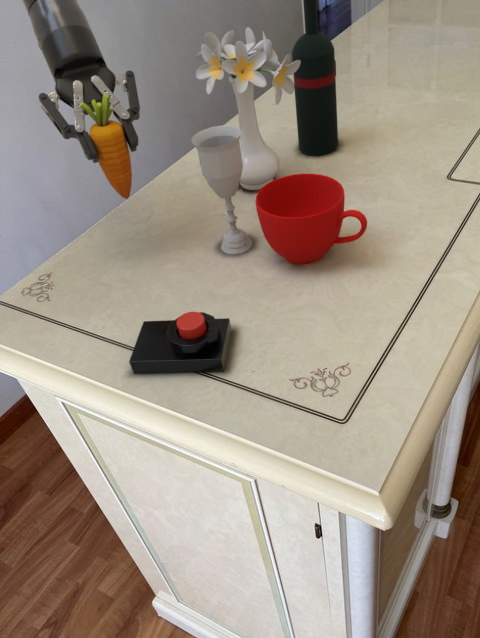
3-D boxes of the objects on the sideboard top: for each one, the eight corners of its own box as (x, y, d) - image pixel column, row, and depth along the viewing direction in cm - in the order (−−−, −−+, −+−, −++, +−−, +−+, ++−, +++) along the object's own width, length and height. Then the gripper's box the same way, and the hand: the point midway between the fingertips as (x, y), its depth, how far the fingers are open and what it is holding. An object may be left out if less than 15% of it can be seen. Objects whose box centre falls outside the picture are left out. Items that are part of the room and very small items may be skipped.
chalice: (241, 228, 99) (222, 121, 86) (267, 242, 95) (251, 132, 82) (206, 247, 96) (181, 139, 83) (231, 263, 92) (210, 152, 79)
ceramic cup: (348, 291, 84) (346, 230, 77) (248, 267, 91) (238, 208, 84) (383, 244, 91) (384, 184, 84) (288, 224, 98) (282, 167, 91)
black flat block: (133, 373, 76) (124, 351, 74) (147, 333, 82) (139, 310, 79) (224, 371, 75) (218, 348, 72) (232, 330, 80) (227, 307, 78)
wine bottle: (350, 137, 119) (346, -40, 98) (326, 158, 114) (317, -24, 93) (316, 132, 123) (306, -40, 102) (291, 153, 117) (275, -25, 96)
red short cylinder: (176, 340, 75) (173, 330, 73) (182, 322, 77) (179, 311, 76) (204, 339, 74) (201, 329, 73) (208, 321, 77) (206, 310, 75)
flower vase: (291, 205, 102) (276, 49, 85) (201, 193, 109) (169, 46, 92) (319, 171, 110) (310, 21, 93) (233, 161, 117) (210, 20, 99)
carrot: (105, 206, 88) (70, 103, 77) (118, 190, 91) (87, 89, 81) (135, 207, 87) (103, 103, 76) (148, 190, 90) (119, 89, 80)
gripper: (10, 36, 76) (62, 158, 77) (115, 11, 80) (165, 128, 81) (20, 69, 84) (68, 180, 84) (116, 45, 87) (161, 151, 88)
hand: (115, 154), depth 82 cm, fingers closed on carrot, 5 cm apart
